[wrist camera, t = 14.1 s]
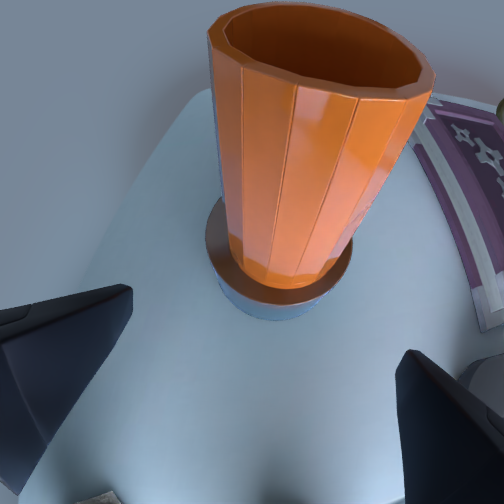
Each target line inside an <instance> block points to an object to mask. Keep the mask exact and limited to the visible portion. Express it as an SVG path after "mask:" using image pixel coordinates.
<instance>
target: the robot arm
mask: <svg viewBox="0 0 504 504" xmlns="http://www.w3.org/2000/svg"><path fill="white" fill-rule="evenodd" d="M132 312H133V289H132V288H131V287H130V286H128V285H124V284H116V285H112V286H108V287H103V288H99V289H94V290H90V291H86V292H81V293H77V294H73V295H68V296H64V297H60V298H55V299H50V300H47V301H42V302H38V303H33V304H32V305H31V304H28V305H24V306H19V307H14V308H9V309H4V310H0V482H1V483H2V484H3V485H5V486H6V487H7V488H8V489H9V490H11V491H12V492H13V493H15V494H16V495H17V496H18V495H19V494H20V492H21V491H22V489H23V487H24V486H25V484H26V482H27V480H28V479H29V477H30V475H31V474H32V472H33V470H34V468H35V467H36V465H37V463H38V462H39V460H40V458H41V457H42V455H43V454H44V452H45V450H46V449H47V446H48V445H49V444H50V442H51V440H52V439H53V437H54V436H55V434H56V432H57V431H58V429H59V428H60V426H61V425H62V423H63V421H64V420H65V418H66V417H67V415H68V414H69V412H70V411H71V409H72V408H73V406H74V405H75V403H76V402H77V400H78V399H79V397H80V396H81V394H82V393H83V391H84V390H85V388H86V387H87V385H88V384H89V382H90V381H91V380H92V378H93V377H94V375H95V374H96V372H97V371H98V369H99V368H100V367H101V365H102V364H103V362H104V361H105V359H106V358H107V357H108V355H109V354H110V352H111V351H112V349H113V348H114V346H115V344H116V342H117V341H118V339H119V337H120V335H121V333H122V332H123V330H124V328H125V326H126V324H127V323H128V321H129V319H130V317H131V315H132ZM395 380H396V400H397V416H398V424H399V432H400V441H401V450H402V460H403V472H404V487H405V504H504V419H503V418H502V417H501V416H500V415H498V414H497V413H496V412H495V411H493V410H492V409H491V408H490V407H489V406H486V404H485V403H484V402H482V401H481V400H480V399H479V398H478V397H476V396H475V395H474V394H473V393H471V392H470V391H469V390H468V389H466V388H465V387H464V386H463V385H462V384H460V383H459V382H458V381H457V380H455V379H454V378H453V377H452V376H450V375H449V374H448V373H447V372H445V371H444V370H443V369H442V368H440V367H439V366H438V365H437V364H435V363H434V362H433V361H432V360H430V359H429V358H428V357H426V356H425V355H424V354H423V353H421V352H420V351H418V350H411V349H409V350H407V351H406V352H405V354H404V356H403V358H402V360H401V362H400V363H399V365H398V367H397V369H396V373H395Z"/></svg>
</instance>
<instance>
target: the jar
mask: <svg viewBox="0 0 504 504" xmlns="http://www.w3.org/2000/svg"><path fill="white" fill-rule="evenodd" d="M205 241H206V249H207V253H208V256H209V260H210V263H211V265H212V268H213V270H214V272H215V273H216V276H217V279H218V283H219V285H220V287H221V289H222V291H223V293H224V294H225V296H226V297H227V298H228V299H229V301H230V302H231V303H232V304H233V305H234V306H236V307H237V308H238V309H240V310H241V311H242V312H244V313H246V314H248V315H250V316H253V317H256V318H258V319H263V320H270V321H281V320H287V319H292V318H295V317H298V316H300V315H302V314H304V313H306V312H307V311H309V310H310V309H312V308H313V307H314V306H315V305H316V304H317V303H318V302H319V301H320V300H321V298H322V297H324V296H325V295H326V294H328V293H329V292H330V291H331V290H332V289H333V288H334V287H335V285H336V284H337V283H338V282H339V280H340V279H341V278H342V277H343V275H344V273H345V272H346V270H347V268H348V265H349V263H350V260H351V255H352V247H353V240H352V237H351V239H350V241H349V242H348V244H347V245H346V247H345V248H344V250H343V252H342V253H341V255H340V256H339V258H338V259H337V261H336V262H335V264H334V265H333V267H332V268H331V269H330V270H329V271H328V272H327V273H326V274H325V275H324V276H323V277H322V278H321V279H319V280H317V281H316V282H314V283H312V284H310V285H307V286H304V287H301V288H295V289H279V288H273V287H269V286H266V285H263V284H261V283H259V282H257V281H255V280H253V279H252V278H251V277H249V276H248V275H247V274H246V273H244V272H243V271H242V270H241V268H240V267H239V266H238V265H237V263H236V262H235V260H234V259H233V256H232V254H231V252H230V249H229V244H228V237H227V233H226V226H225V217H224V209H223V200H222V196H221V198H220V199H219V200H218V201H217V203H216V204H215V206H214V207H213V209H212V211H211V213H210V215H209V218H208V221H207V225H206V232H205Z"/></svg>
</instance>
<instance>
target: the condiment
mask: <svg viewBox="0 0 504 504" xmlns="http://www.w3.org/2000/svg"><path fill="white" fill-rule="evenodd" d="M74 504H122V503H121V502H120V501H119V500H118V498H117V497H116V495H115V494H114V492H113V491H110V492H107V493H104V494H101V495H99V496H96V497H93V498H90V499H87V500H84V501H80V502H77V503H74Z"/></svg>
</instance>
